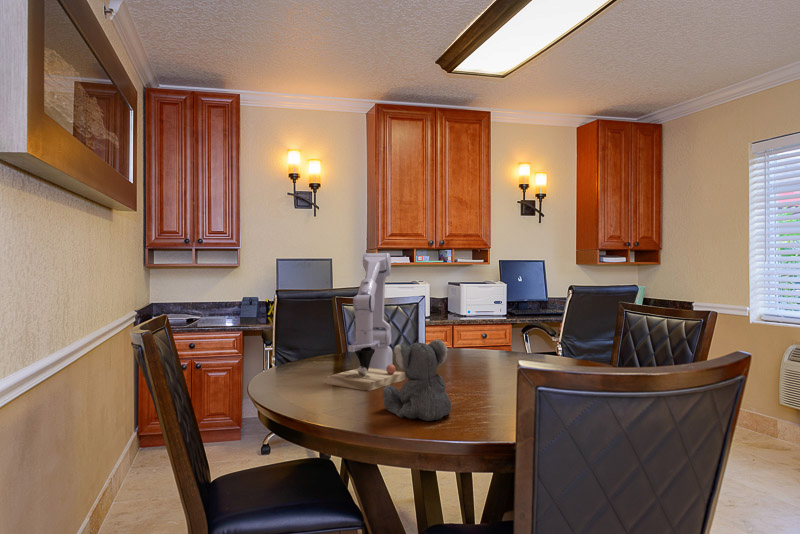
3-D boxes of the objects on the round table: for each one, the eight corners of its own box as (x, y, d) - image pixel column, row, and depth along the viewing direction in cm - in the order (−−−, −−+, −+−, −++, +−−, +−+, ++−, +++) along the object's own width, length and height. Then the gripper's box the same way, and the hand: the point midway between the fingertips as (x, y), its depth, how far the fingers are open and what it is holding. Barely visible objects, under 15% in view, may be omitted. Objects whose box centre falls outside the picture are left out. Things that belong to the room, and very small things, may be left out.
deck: (364, 373, 189) (364, 366, 189) (405, 379, 179) (405, 372, 179) (326, 383, 173) (326, 376, 173) (369, 391, 163) (369, 383, 163)
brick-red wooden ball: (389, 372, 179) (389, 363, 179) (397, 373, 177) (397, 364, 177) (384, 374, 176) (384, 364, 176) (392, 375, 174) (391, 365, 174)
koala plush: (437, 402, 149) (436, 334, 149) (467, 419, 132) (466, 342, 132) (379, 408, 143) (379, 337, 143) (403, 427, 126) (403, 346, 126)
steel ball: (356, 365, 174) (355, 374, 174) (363, 366, 172) (362, 376, 172) (362, 365, 177) (361, 374, 176) (369, 366, 175) (368, 376, 174)
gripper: (368, 327, 183) (368, 365, 183) (341, 331, 171) (341, 372, 171) (384, 328, 179) (384, 367, 179) (357, 333, 167) (358, 375, 167)
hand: (364, 370), depth 175 cm, fingers closed, pressing on steel ball
